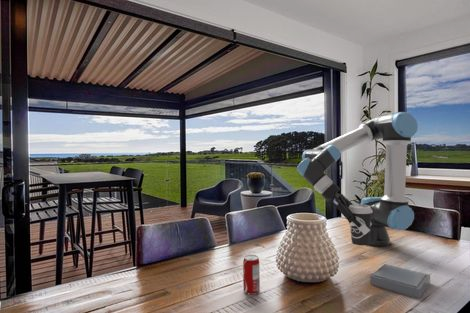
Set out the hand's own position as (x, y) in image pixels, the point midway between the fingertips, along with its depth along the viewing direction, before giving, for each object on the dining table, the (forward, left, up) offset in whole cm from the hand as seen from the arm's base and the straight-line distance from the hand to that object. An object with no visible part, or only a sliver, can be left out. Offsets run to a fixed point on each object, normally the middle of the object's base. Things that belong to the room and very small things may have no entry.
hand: (368, 229), depth 118 cm
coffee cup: (+1, -3, -6) cm, 7 cm away
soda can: (+47, -22, -16) cm, 54 cm away
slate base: (+7, +13, -16) cm, 22 cm away
